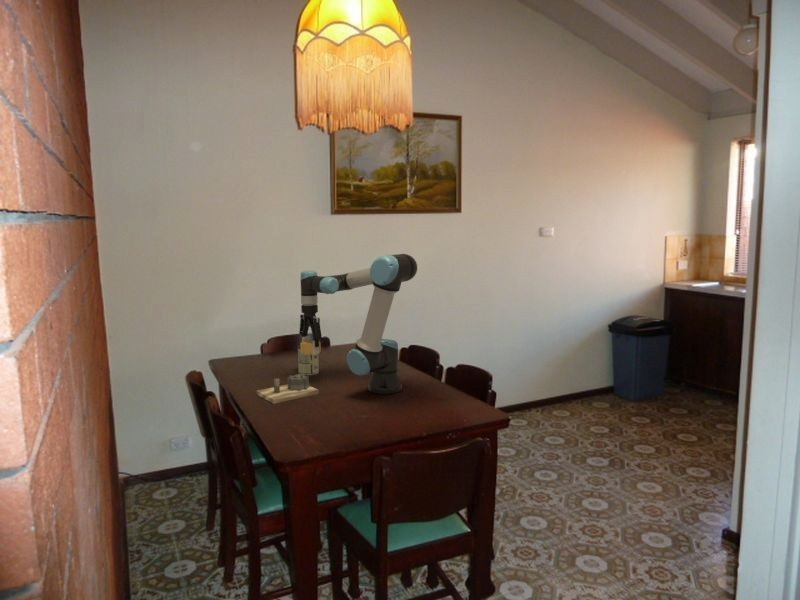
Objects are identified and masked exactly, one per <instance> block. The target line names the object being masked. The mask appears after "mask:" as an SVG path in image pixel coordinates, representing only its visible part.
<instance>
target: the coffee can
mask: <svg viewBox="0 0 800 600" xmlns="http://www.w3.org/2000/svg"><path fill="white" fill-rule="evenodd" d="M297 361H298V362H297V363H298V365H297V366H298V374H300V375H305V376H314V375H317V374H319V372H320V371H319V369H320V368H319V367H320V366H319V365H320V364H319V363H320V362H319V354H313V355H311V354H306V355H304V353H301V346H300V344H298V345H297Z"/></svg>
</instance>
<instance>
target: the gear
mask: <svg viewBox="0 0 800 600" xmlns="http://www.w3.org/2000/svg"><path fill="white" fill-rule="evenodd" d="M300 346H301V353H304V355H306V354H311V355H313V339H312V340H311V339H308V341H302V340H301V342H300ZM321 346H322V345H321V341H320V340H319V353H321V351H322V347H321Z"/></svg>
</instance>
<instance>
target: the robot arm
mask: <svg viewBox="0 0 800 600" xmlns="http://www.w3.org/2000/svg"><path fill="white" fill-rule="evenodd" d="M417 273H418V263H417V261H416V259H415V258H414V257H413V256H411V255H410V254H407V253H399V254H397V253H396V254H384V255H381V256H378V257H376V258H375V259H373V261H372V263H371V265H370V267H368V268H363V269H359V270H355V271H352V272H346V273H343V274H342V273H341V274H337V275H336V274H335V275H325V276H323V275H322V276H320V275H318V273H317V271H316V270H302V271H301V272H300V280H299V282H300V303H301V313H302V314H300V316H299V318H300V321H299V323H300V324H299V331H298V333H299V335H300V336H301V337H302V340H301V342H302V341H308V340H309V333H308V332H309V328H310V330H311V335H312V337H313V338H312V340H313V354H318V355H319V354H320V352H319V341H320V340H322V339H323V338H322V330H321V322H320V321H321V318H320V317H317V316H316V314H317V313H318V312H319V307H318V306H319V305H318V303H319V302H318V298H319V297H318V294H319V293H320V294H325V295H333V294H335V293H337V292H343V291H351V290H353V289H357V288H361V287H362V288H363V287H366V286H371V285H372V286H373V292H372V296H371V301H370V304H369V306H368V310H367V315H366V319H365V322H364V325H363V329H362V333H361V336H360V337H359V338H358V339H357V340H356V342H355V345H354V348H352V349H351V350H349V351H348V352H347V355H346V363H347V366H348V368H349V370H350V371H351V372H352V373H353V374H354V375H357V376H363V375H364V376H365V375H368V374H371V376H370V379H369V382H368V391H369V392H371V393H373V394H377V393H378V395H391V394H390V393H393V394H397V393H400V392H401V391H402V390H403V385H402V380H401V378H400V374H399V343H398V341H396V340H393V339H389V338H383V335H384V332H385V329H386V324H387V322H388V317H389V315H390V310H391V307H392V304H393V300H394V296H395V294H396V293H398V292H400V289H401V285H402V283H403V282H408V281H411V280H412V279H414V277H415V276H416V274H417ZM401 389H402V390H401ZM399 391H400V392H399ZM396 392H397V393H396Z"/></svg>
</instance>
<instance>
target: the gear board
mask: <svg viewBox="0 0 800 600" xmlns="http://www.w3.org/2000/svg"><path fill="white" fill-rule="evenodd" d="M309 378H310V375H300V374H299V373H298V374H297V373H296V374H294V375H288V377H287V378H286V379H287V380H286V381H287V384H282V385H280V384H281V383H280V378H274V379H273V386H272V387H267V388H262V389H258V390H256V395H257V396H258V397H261V398H262V399H264V400H266V401H268V402H270V403H272V404H273V405H275V404H278V403H283V402H288V401H292V400H296V399H297V400H298V399H301V398H306V397H312V396H315V395H319V394H320V391H319V388H316V387H313V386H311V385H310V379H309Z"/></svg>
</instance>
